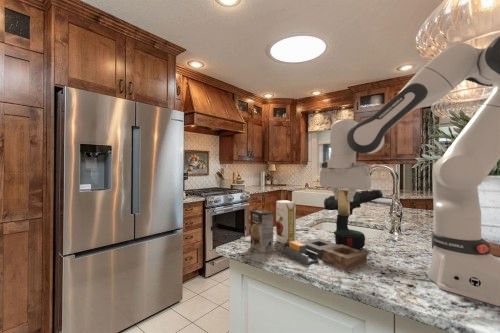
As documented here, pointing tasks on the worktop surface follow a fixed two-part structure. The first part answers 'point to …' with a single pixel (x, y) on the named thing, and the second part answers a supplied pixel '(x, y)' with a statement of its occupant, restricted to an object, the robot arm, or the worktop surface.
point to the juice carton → (285, 221)
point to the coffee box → (262, 230)
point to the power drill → (342, 232)
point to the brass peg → (343, 203)
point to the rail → (300, 255)
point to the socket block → (318, 245)
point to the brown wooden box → (344, 257)
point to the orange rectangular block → (298, 246)
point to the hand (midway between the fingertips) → (343, 200)
